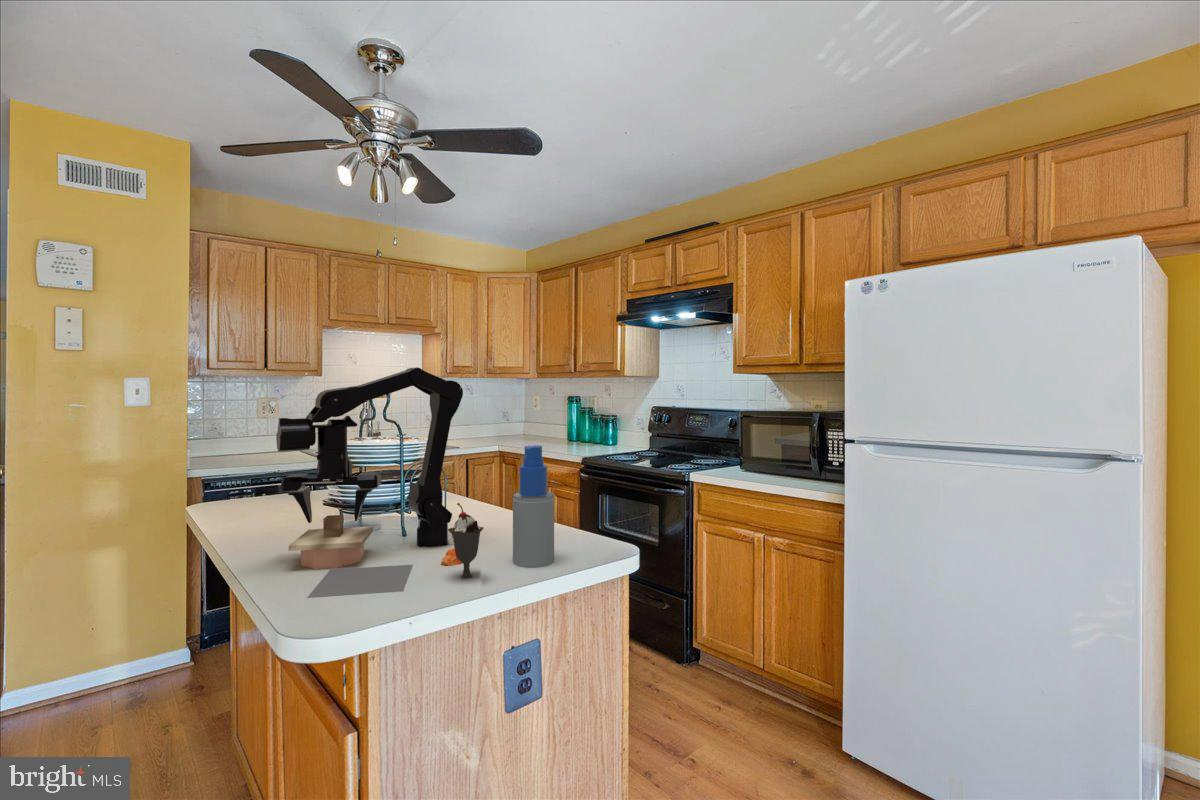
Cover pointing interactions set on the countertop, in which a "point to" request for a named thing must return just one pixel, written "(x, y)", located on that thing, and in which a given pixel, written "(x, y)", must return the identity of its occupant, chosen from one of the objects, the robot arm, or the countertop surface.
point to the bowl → (331, 557)
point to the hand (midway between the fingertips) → (333, 521)
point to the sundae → (466, 540)
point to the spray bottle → (533, 513)
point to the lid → (332, 536)
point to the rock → (450, 558)
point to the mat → (362, 581)
